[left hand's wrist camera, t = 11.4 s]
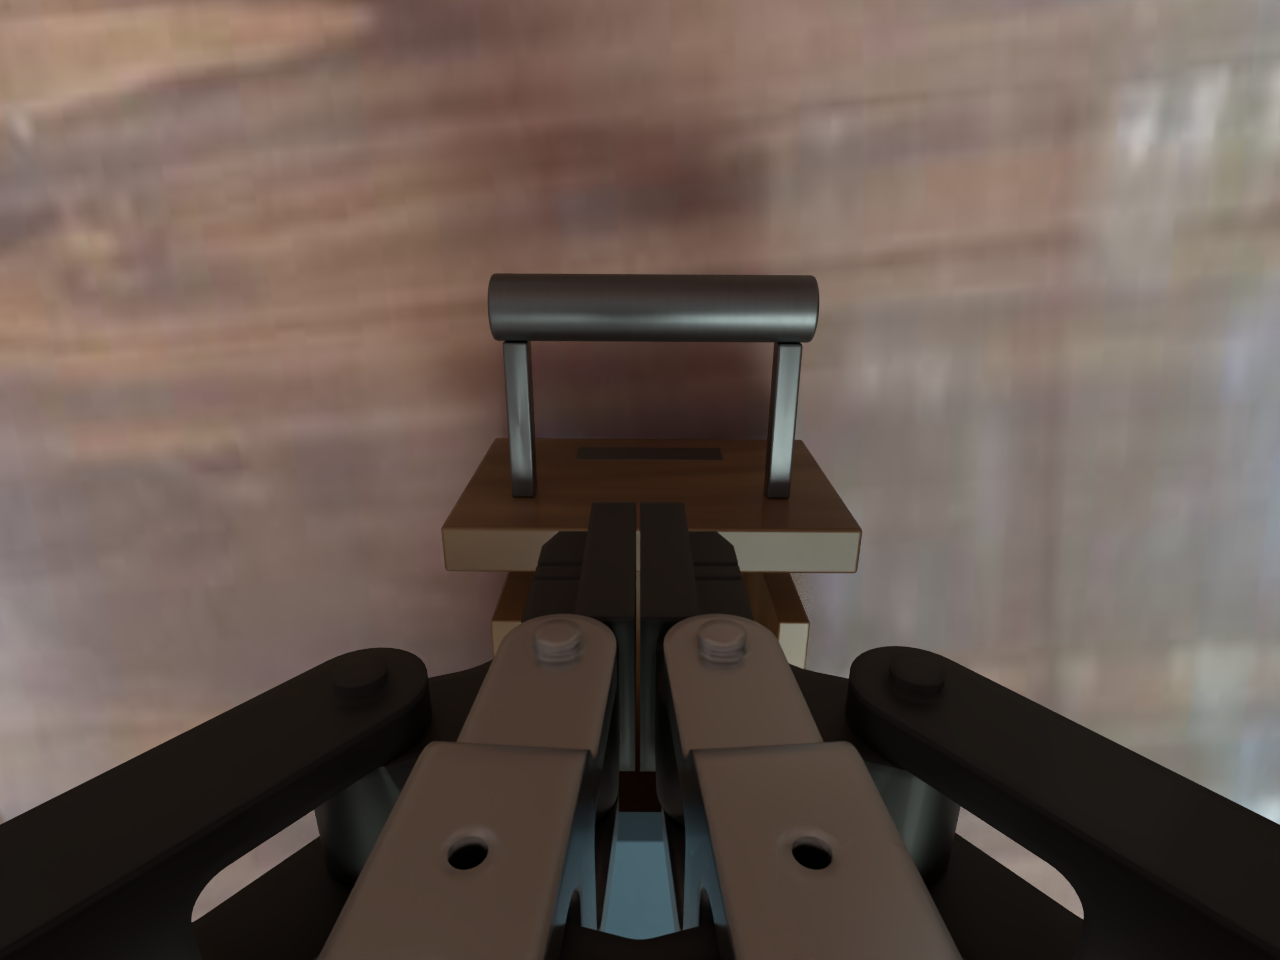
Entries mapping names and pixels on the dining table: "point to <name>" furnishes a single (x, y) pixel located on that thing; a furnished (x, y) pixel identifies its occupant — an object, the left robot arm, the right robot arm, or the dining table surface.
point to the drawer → (656, 453)
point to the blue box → (639, 880)
